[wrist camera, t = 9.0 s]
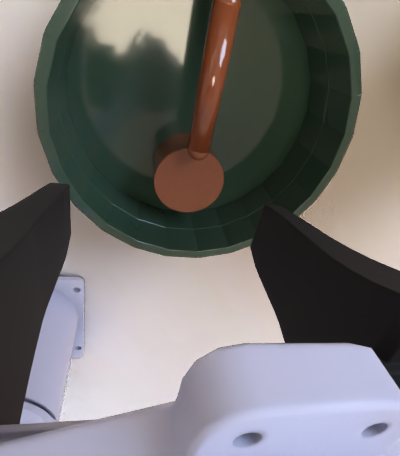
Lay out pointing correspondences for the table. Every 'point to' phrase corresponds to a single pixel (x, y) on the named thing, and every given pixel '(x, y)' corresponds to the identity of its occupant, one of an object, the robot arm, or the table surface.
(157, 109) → the tin
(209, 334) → the table surface
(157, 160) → the brown toy plunger
